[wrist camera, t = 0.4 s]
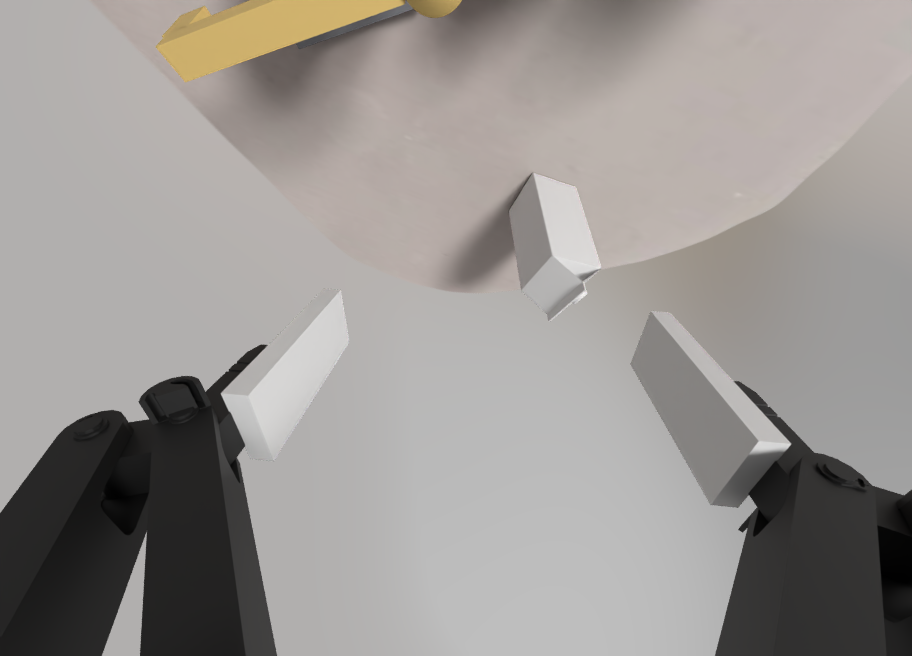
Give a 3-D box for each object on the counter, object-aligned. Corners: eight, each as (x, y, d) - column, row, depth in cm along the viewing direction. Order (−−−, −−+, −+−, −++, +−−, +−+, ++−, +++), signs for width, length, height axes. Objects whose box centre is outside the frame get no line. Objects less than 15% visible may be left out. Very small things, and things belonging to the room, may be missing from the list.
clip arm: (217, 64, 21) (192, 101, 19) (166, -4, 18) (131, 30, 16) (471, -27, 18) (476, 4, 15) (457, -127, 15) (461, -104, 13)
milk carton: (508, 210, 51) (524, 317, 42) (532, 171, 46) (558, 283, 36) (547, 222, 54) (572, 325, 44) (576, 185, 48) (611, 295, 38)
